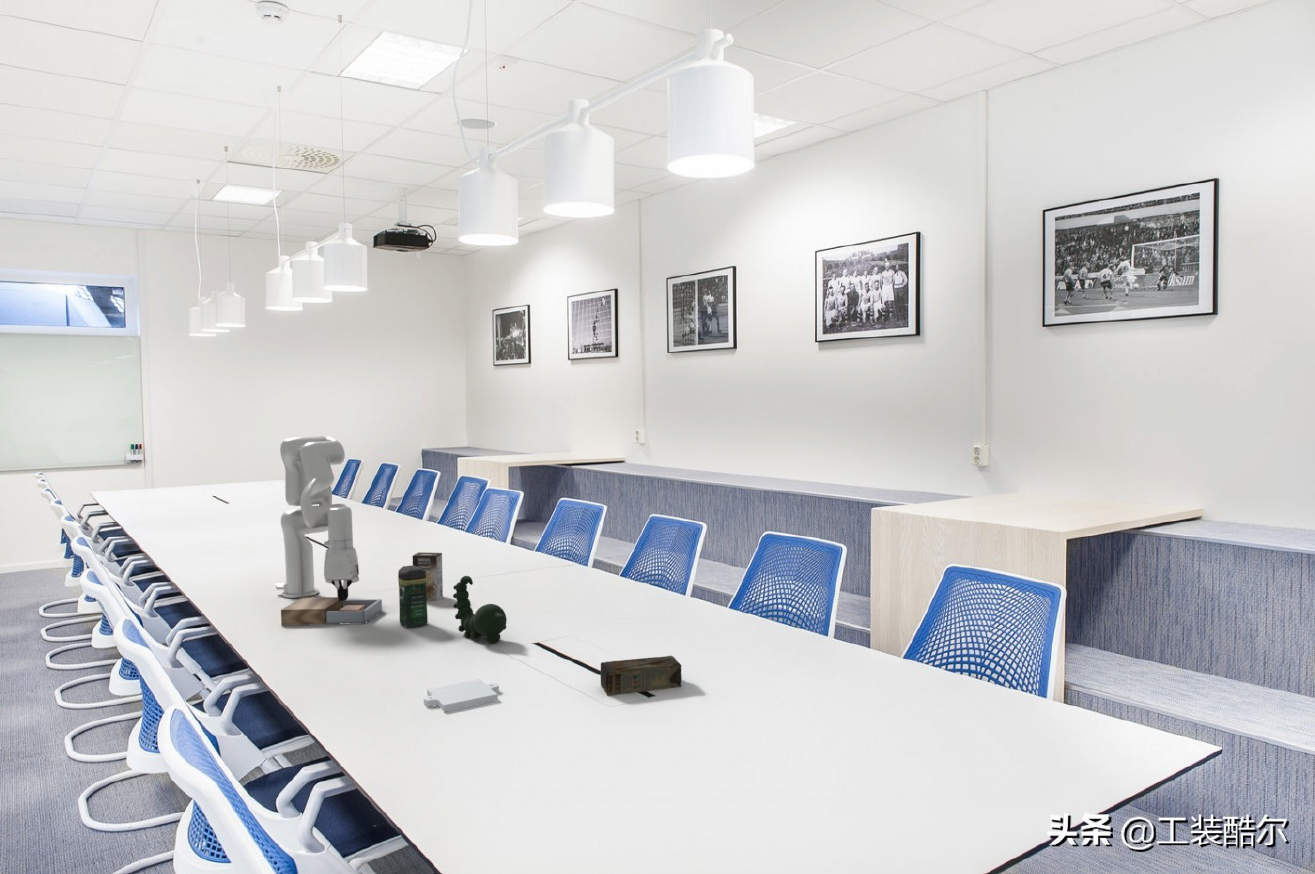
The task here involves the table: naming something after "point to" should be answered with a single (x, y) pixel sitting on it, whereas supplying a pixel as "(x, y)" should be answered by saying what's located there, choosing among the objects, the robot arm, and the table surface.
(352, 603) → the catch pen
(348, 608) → the block
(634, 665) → the dark brown boxy piece
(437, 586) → the coffee box
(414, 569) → the coffee jar
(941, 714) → the table surface
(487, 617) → the toy figurine
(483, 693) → the mounting plate
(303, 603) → the platform
